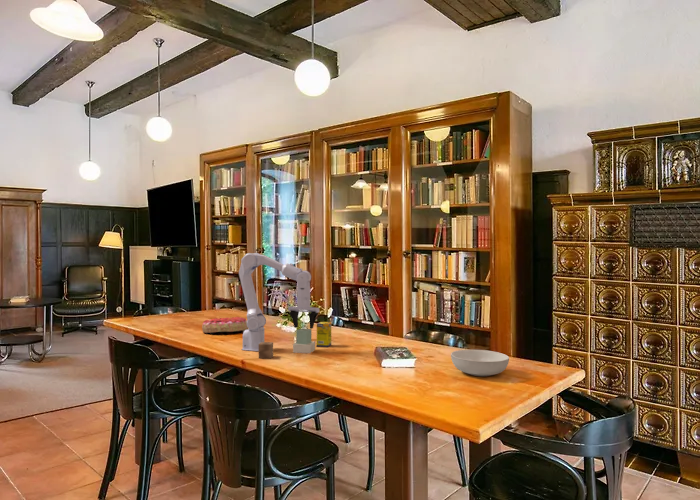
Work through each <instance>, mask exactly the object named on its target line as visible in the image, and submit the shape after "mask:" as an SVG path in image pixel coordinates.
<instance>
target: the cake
mask: <svg viewBox="0 0 700 500" xmlns="http://www.w3.org/2000/svg"><path fill="white" fill-rule="evenodd" d="M201 329H202V332H203V333H204V334H208V333H210V334H211V335H214V334H215V333H227V334H228V333H233V332H234V333H237V332H239V333H243V332H244V331H245V330H248V329H249V328H248V327H247V318H245V317H241V316H235V317H220V318H216V317H215V318H212V319H211V318H210V319H205V320H204V321H203V322H202V325H201Z"/></svg>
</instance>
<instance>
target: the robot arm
mask: <svg viewBox="0 0 700 500" xmlns="http://www.w3.org/2000/svg"><path fill="white" fill-rule="evenodd" d="M240 262H241V263H240V268H239V270H238V276H239V280H240V284H241V288H242V292H243V296H244V300H245V304H246V308H247V311H246V320H247V327H248V329H247V330H245V331H243V332H242V349H241V351H250V352H251V351H252V352H259V344H260V343H261V342H265V327H264V326H265V325H266V324H267V318H266V317H265V315H264V313H263V310H262V309H261V308H260V306H259V301H258V298H257V292H256V290H255V289H256V288H255V285H254V281H253V278H252V274H253V272H254V271H255V270H256V269H257V268H258V267H260V266H263V265H265V266H266V267H267V266H268V267H270V268H272V269H275V270H278V271H280V272H281V274H282V276H284V277H286V278H288V279H291V280H293V281H296V282H297V290H296V291H297V295H296V296H297V297H296V298H297V299H296V300H297V303H296V304H297V305H296V306H288V308H287V309H288V311H287V312H289V316H290V318H291V320H292V322H293V326H294V327H293V328H294V329H296V328H298V327H299V314H300V312H301V313H303V312H305V313H308V316H309V318H308V319H309V329H311V330H312V329H314V325H315V321H316V319H317V316H319V313H320V307H315V306H311V280H312V274H311V272H310V271H308V270H303V268H301V267H300V268H299V267H296V266H294V264H293V263H286V264H283V263H281V262H279V261H277V260H275V259H273V258H271V257H269V256H267V255H265V254H260V253H258V252H254V253H253V252H252V253H251V252H248V253H245V255H244V256H243V257H242V258H241V259H240Z"/></svg>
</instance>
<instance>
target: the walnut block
mask: <svg viewBox="0 0 700 500" xmlns="http://www.w3.org/2000/svg"><path fill="white" fill-rule="evenodd" d="M273 357H274V342H273V341H270V342H269V341H264V342H261V343H260V344H259V351H258V359H262V360H264V359H268V360H269V359H272V358H273Z"/></svg>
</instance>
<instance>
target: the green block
mask: <svg viewBox="0 0 700 500" xmlns="http://www.w3.org/2000/svg"><path fill="white" fill-rule="evenodd" d="M295 336H296V338H295V339H296V341H295V343H296V344H309V343H311V341H312V329H310V328H299V329H296V335H295Z"/></svg>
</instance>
